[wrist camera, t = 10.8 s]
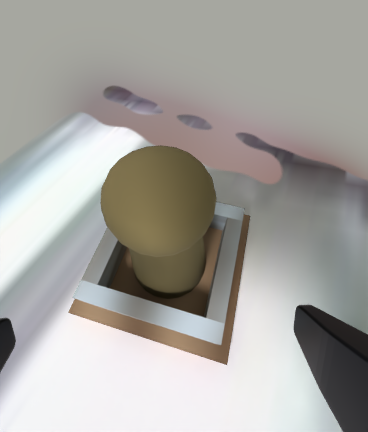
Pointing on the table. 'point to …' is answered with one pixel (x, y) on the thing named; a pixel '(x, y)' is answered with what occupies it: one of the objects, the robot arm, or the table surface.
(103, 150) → the table surface
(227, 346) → the socket board
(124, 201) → the olive brown knob
